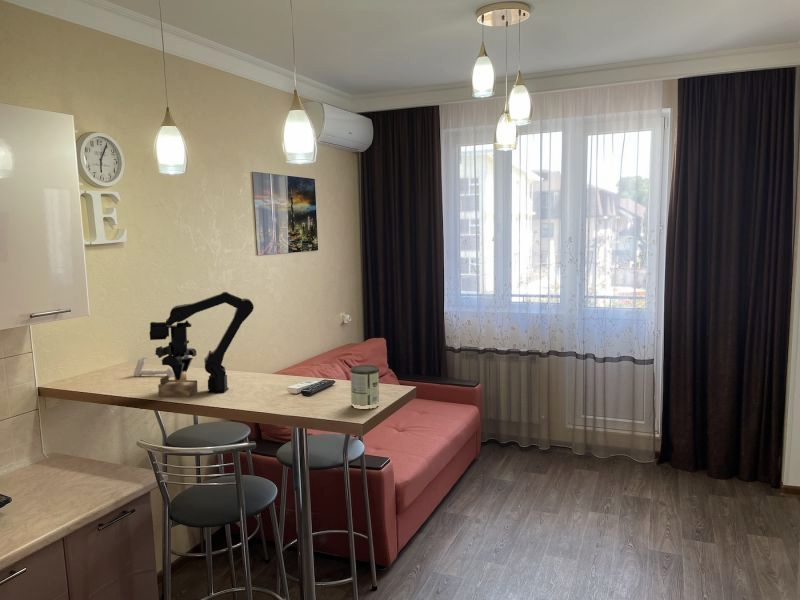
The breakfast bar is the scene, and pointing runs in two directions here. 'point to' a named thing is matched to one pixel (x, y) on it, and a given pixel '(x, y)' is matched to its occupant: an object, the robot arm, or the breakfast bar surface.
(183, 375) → the tan wooden cube
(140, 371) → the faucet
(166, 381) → the lid
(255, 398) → the breakfast bar surface
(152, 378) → the breakfast bar surface
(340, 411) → the breakfast bar surface
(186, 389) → the box
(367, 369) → the coffee can
